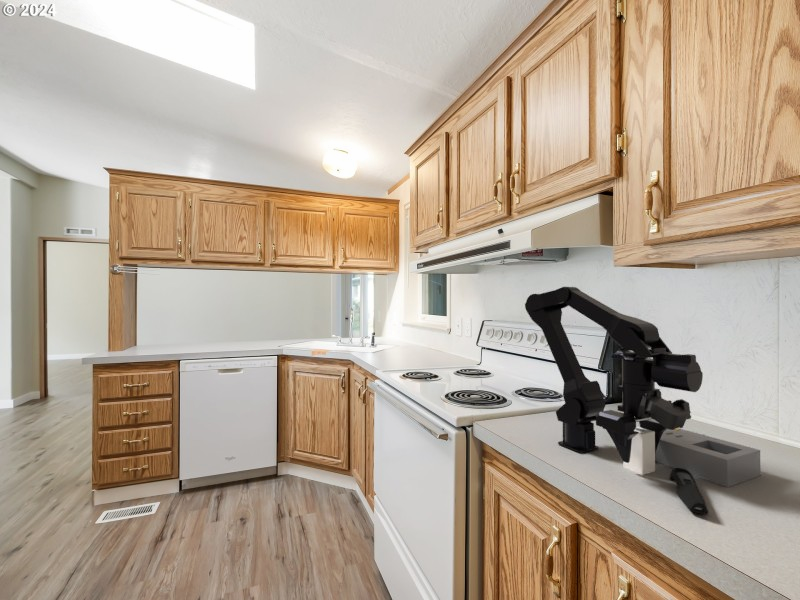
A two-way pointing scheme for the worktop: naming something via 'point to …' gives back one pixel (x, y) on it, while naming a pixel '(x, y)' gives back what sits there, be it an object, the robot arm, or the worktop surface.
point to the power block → (708, 457)
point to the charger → (642, 452)
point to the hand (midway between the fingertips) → (638, 458)
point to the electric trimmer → (689, 491)
